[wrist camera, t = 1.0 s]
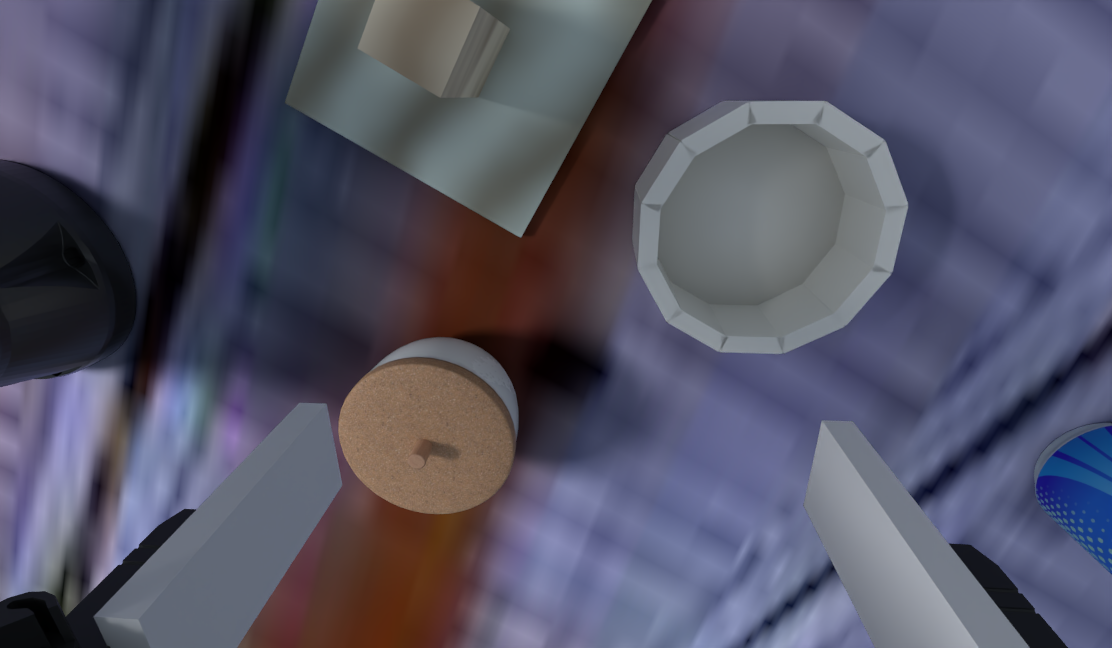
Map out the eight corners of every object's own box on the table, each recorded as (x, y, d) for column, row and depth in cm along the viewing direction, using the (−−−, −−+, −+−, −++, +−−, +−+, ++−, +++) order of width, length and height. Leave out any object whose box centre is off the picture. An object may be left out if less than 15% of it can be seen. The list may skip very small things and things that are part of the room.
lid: (295, 102, 33) (191, 104, 25) (394, -195, 28) (302, -325, 19) (523, 233, 35) (498, 276, 27) (661, -18, 30) (685, -63, 21)
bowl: (594, 250, 35) (592, 279, 29) (715, 54, 30) (741, 44, 25) (760, 347, 37) (788, 391, 31) (900, 175, 32) (963, 192, 26)
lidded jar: (442, 282, 37) (394, 340, 28) (560, 381, 39) (548, 462, 30) (356, 383, 40) (289, 461, 32) (468, 468, 42) (434, 562, 34)
